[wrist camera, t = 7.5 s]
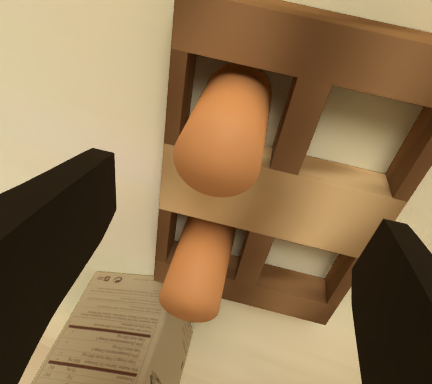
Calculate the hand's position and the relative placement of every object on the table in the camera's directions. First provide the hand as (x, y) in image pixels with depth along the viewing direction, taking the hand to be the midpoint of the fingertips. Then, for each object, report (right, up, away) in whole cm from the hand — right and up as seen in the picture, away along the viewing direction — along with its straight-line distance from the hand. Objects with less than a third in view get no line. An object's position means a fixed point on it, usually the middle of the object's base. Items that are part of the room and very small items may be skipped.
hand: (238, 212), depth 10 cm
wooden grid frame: (+3, +1, +11) cm, 11 cm away
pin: (-1, -2, +14) cm, 14 cm away
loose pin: (0, +5, +8) cm, 9 cm away
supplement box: (-6, -8, +21) cm, 23 cm away
